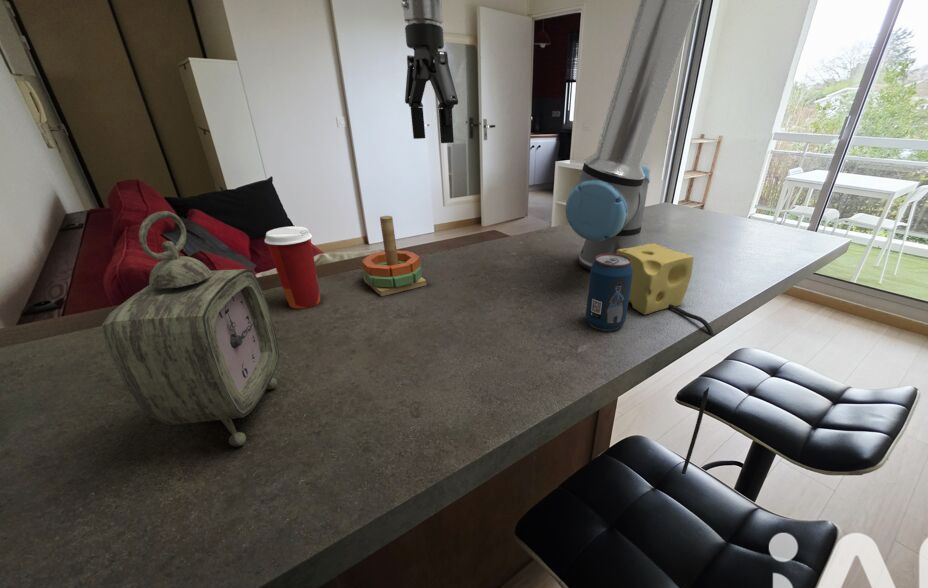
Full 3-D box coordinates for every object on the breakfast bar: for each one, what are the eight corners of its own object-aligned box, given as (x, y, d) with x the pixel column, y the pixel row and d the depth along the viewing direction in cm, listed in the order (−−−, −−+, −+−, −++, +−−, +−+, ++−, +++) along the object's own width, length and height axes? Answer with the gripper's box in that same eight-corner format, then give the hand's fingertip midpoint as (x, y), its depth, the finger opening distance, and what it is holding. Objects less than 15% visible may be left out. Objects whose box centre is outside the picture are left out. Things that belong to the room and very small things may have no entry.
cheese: (644, 316, 76) (653, 264, 71) (607, 294, 84) (613, 247, 80) (685, 305, 80) (696, 256, 76) (645, 286, 89) (653, 240, 84)
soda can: (599, 310, 78) (607, 249, 72) (632, 323, 74) (642, 259, 68) (577, 322, 74) (583, 258, 68) (610, 337, 69) (619, 269, 64)
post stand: (426, 285, 88) (420, 218, 81) (381, 296, 83) (370, 226, 76) (407, 271, 95) (399, 209, 88) (364, 281, 90) (352, 215, 83)
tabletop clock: (250, 456, 46) (160, 232, 34) (159, 466, 44) (31, 237, 32) (290, 379, 58) (234, 196, 46) (220, 385, 57) (144, 199, 45)
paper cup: (333, 295, 83) (318, 226, 77) (313, 312, 77) (295, 238, 70) (296, 293, 84) (278, 224, 77) (273, 310, 77) (251, 236, 71)
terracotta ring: (427, 269, 87) (426, 261, 86) (374, 280, 82) (373, 272, 81) (406, 255, 95) (406, 247, 94) (357, 264, 90) (356, 256, 89)
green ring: (429, 279, 87) (429, 271, 86) (378, 291, 81) (376, 283, 81) (407, 264, 95) (406, 256, 94) (359, 274, 89) (357, 266, 88)
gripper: (382, 30, 90) (394, 137, 100) (435, 13, 72) (444, 145, 82) (414, 33, 94) (423, 136, 104) (472, 18, 76) (476, 144, 86)
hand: (432, 140), depth 93 cm, fingers open, 13 cm apart
